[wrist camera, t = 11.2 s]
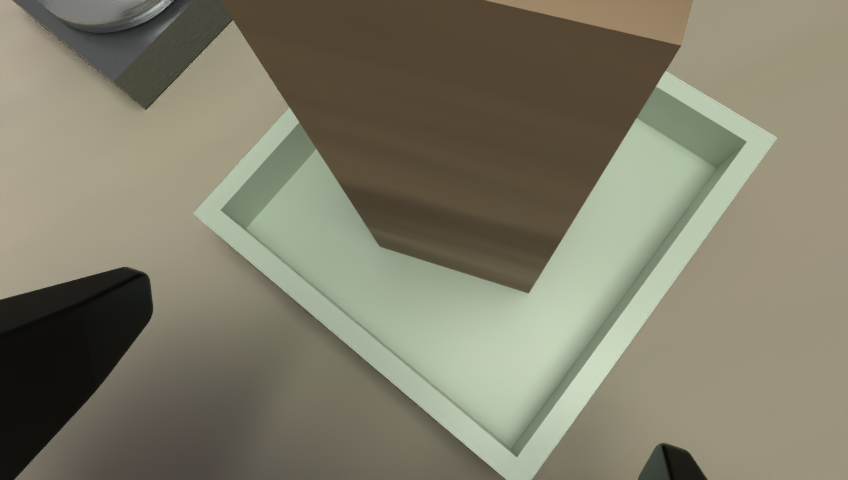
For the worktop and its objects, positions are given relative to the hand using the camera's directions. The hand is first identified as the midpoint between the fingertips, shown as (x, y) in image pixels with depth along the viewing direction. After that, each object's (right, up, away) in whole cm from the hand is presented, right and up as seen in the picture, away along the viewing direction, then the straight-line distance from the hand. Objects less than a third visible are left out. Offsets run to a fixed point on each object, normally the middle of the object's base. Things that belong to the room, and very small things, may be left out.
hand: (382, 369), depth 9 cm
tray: (+3, +3, +10) cm, 11 cm away
